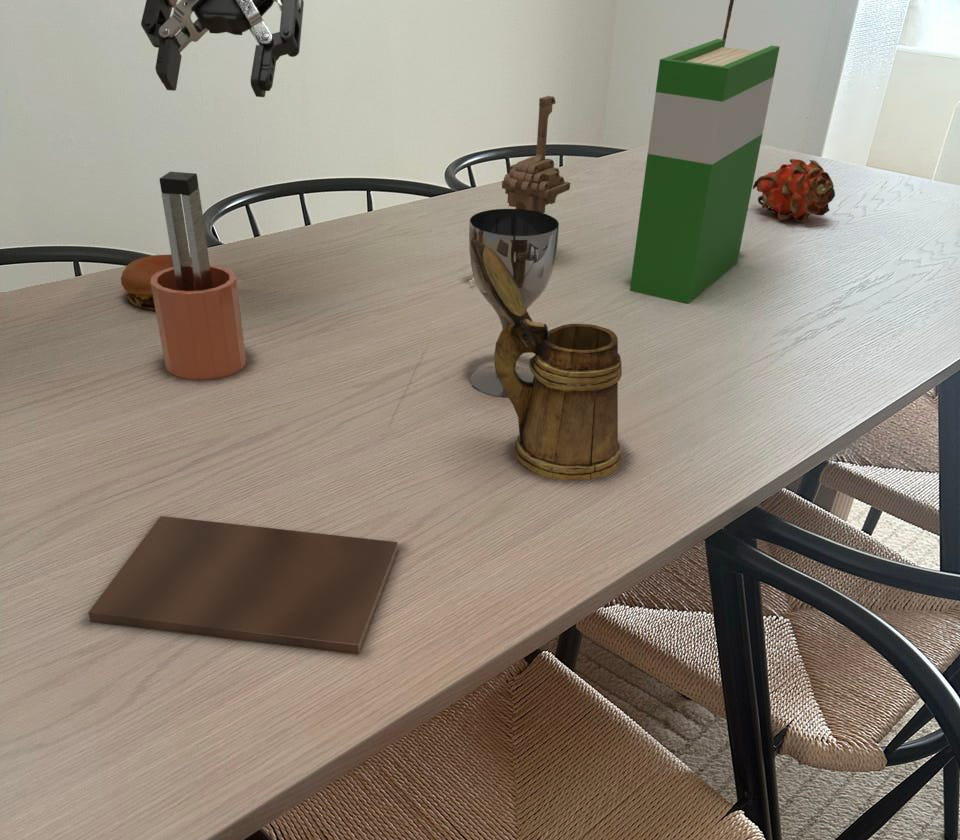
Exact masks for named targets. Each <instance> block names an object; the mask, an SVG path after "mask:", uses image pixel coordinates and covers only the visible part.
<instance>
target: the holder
mask: <svg viewBox="0 0 960 840" xmlns="http://www.w3.org/2000/svg"><path fill="white" fill-rule="evenodd" d="M191 267H192V265H191ZM210 271H211V278H212V285H213V288H212V289H207V290H201V291H196V288H195V291H179V290H177V286H176V280H175V273H174V267H170V268H167V269H165V270H162V271H160V272H157V273H156V274H155V275H154V276H152V277H151V288H152V293H153V299H154V305H155V310H154V311H155V315H156V321H157V325H158V326H157V327H158V331H159V332H158V333H159V337H160V343H161V349H162V355H163V360H164V366H165V369H166V370H167V371H168V372H169V373H170V374H171V375H173V376H175V377H178V378H181V379H185V380H191V381H209V380H217V379H222V378H227V377H229V376H232V375H235V374H237V373H239V372H240V371H241V370H243V369H244V368H245V366H246V364H247V355H246V348H245V340H244V339H245V338H244V331H243V323H242V316H241V308H240V307H241V306H240V299H239V292H238V282H237V276H236V272H233V270H231V269H229V268H227V267H223V266H219V265H216V264H215V265H214V264H210ZM192 274H193V268H192ZM193 281H194V275H193ZM194 287H195V281H194Z"/></svg>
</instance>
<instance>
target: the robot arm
mask: <svg viewBox="0 0 960 840" xmlns="http://www.w3.org/2000/svg"><path fill="white" fill-rule="evenodd" d="M178 1H179V0H145V5H144V8H143V12H142V17H141V21H140V26H141V28H142V30H143V31H144V33H145V36H147V39H148V41H150V43H151V45H152V46H153V47H154V48H158V50H157V56H156V62H155V67H154V69H155V72H156V75H157V77H158V78H159V79H160V82H161V83H162V85H163V87H165V89H166V90H167V91H172V92H173V91H177V88H178V87H177V86H178V82H179V81H178V80H179V74H180V68H181V63H182V54H181V52H182V51H184V49H186V48H187V47H188V46H189V44H191V43H192V42H194V43H196V42H198V41H199V40H201V38H202V37H204V35H205V34H206V33H208V32H209V34H216V35H217V34H225V33H227V34H231V35H234V36H243V34H244V33H245V32H247V31H249V32H250V33H251V35H252V37H253V38H254V40H255V42H256V44H255V49H254V56H253V62H252V67H251V74H250V86H251V89H252V91H253V93H254V95H255V97H257V98H265V97H266V93H267V92H270V91H271V89H272V87H273V85H274V84H273V83H274V77H275V72H276V64H277V61H278V60H279V59H280V57H283V56H286V55H287V56H288V57H290V58H294V57H295V58H296V57H297V56H299V54H300V49H301V39H302V37H301V36H302V27H303V16H304V4H305V2H304V0H180V1H179V2H178ZM274 3H276V4H277V5H278V8H279V11H280V12H281V13H280V24H279V31H277V32H274V33H272V32H271V31H270V29H269V27H268V26H267V24H266V23H265V21H264V19H263V16H264V15H265V14H266V13H267V12H268V11H269V10H270V9H271V8H272V7H273V5H274ZM172 9H173V13H172ZM193 13H194V14H195V17H196V20H195V21H194V22H193V20H192V19H191V18H192V14H193ZM171 14H172V15H171Z"/></svg>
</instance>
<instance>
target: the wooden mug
mask: <svg viewBox="0 0 960 840" xmlns="http://www.w3.org/2000/svg"><path fill="white" fill-rule="evenodd" d="M469 246H470V250H471V254H472V257H473V261H474V264H475V267H476V271H477V274H478V276H479V278H480V281H481V283H482V285H483V286H484V288H485V290H486V291H487V293H488V295H489V296H490V298H491V300H492V301H493V303H494V304H495V306H496V307H497V309H498V310H499V312H500V313H501V315H502V316H503V317H504V318H505V319H506V320H507V321H508V323H507V325H506V326H505V328H504V329H503V330H502V329H501V331H500V334H499V335H498V337H497V340H496V341H495V348H494V354H493V361H494V366H495V369H496V374H497V376H498V378H499V381H500V383H501V385H502V387H503V389H504V391H505V393H506V394H507V396H508V397H507V398H508V399H509V401H510V402H511V404H512V406H513V408H514V411H515V413H516V415H517V423H518V436H517V438H516V441H515V444H514V448H513V455H514V457H515V459H516V460H517V462H518V463H519V464H520V465H521V466H522V467H523V468H524V469H526V470H527V471H529V472H530V473H532V474H534V475H537V476H540V477H543V478H546V479H551V480H561V481H586V480H591V479H601V478H603V477H605V476H608V475H611V474H612V473H613V472H615V471H616V470H617V469H618V467H619V465H620V464H621V460H622V459H621V457H622V456H621V444H620V442H619V399H618V398H619V394H618V393H619V382H620V380H621V377H622V375H623V374H622V373H623V372H622V369H623V367H622V358H621V355H620V353H619V341H618V336H617V334H616V332H614V331H613V330H612V329H609V328H607V327H603V326H599V325H596V324H591V323H568V324H562V325H560V326H557V327H554V328H552V329H550V330H549V328H548V325H547V324H546V323H543V322H537V321H533V320H532V318H531V315H530V314H529V312H528V311H527V310H528V309H527V310H526V306H525V303H524V300H523V297H522V295H521V292H520V290H519V287H518V285H517V284H516V282H515V280H514V278H513V277H512V275H511V273H510V271H509V270H508V268H507V267H506V265H505V264H504V263H503V261H502V260H501V258H500V257H499V256H498V255H497V254H496V253H495V252H494V251H493V250H492V249H490V248H489V247H488V246H486V245H485V244H483V243H481V242H480V241H478V240H475V239H472V241H471V243H470V245H469ZM470 250H469V251H470ZM528 353H529V354H530V353H531V354H534V355H533V356H532V357H531V358H529V362H528V363H529V370H531V372H532V373H533V375H534V378H533V382H526V381H523V380H522V379H520V378H519V377H518V375H517V373H516V371H515V367H516V366H517V361H518V360H519V359H520V357H521V356H522V355H523V354H528Z"/></svg>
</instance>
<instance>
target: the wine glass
mask: <svg viewBox="0 0 960 840" xmlns="http://www.w3.org/2000/svg"><path fill="white" fill-rule="evenodd" d="M559 225H560V222H559V221H558V220H557V218H555V217H553V216H552V215H549V214H547V213H541V212H536V211H531V210H523V209H516V208H495V209H487V210H483V211H480V212H477V213H474V215H472V216H471V217H470V219H469V227H468V228H469V229H468V230H469V231H468V244H469V245H470V243H471V241H472V239H475V240H478V241H480V242H481V243H483V244H485V245H486V246H488V247H489V248H490V249H492V250H493V251H494V252H495V253H496V254H497V255H498V256H499V257H500V258H501V260H502V261H503V263H504V264H505V265H506V267H507V268H508V270H509V271H510V273H511V275H512V277H513V278H514V280H515V282H516V284H517V285H518V287H519V290H520V292H521V295H522V297H523V300H524V303H525V306H526V310H528V309H529V308H530V307H531V306H532V305H533V304H534V303H535V302H536V301H537V300H538V299H539V298H540V297H541V296H542V294H543V293H544V292H545V290H546V289H547V287H548V284H549V282H550V281H551V276H552V274H553V270H554V265H555V262H556V257H557V252H558V251H557V250H558V243H559V229H560V228H559V227H560V226H559ZM468 251H469V258H470V266H471V271H472V277H474V280H475V285H476V287H477V289H478V291H479V292H480V294H481V295H482V297H483V298H484V299H485V300H486V301H487V302H488V304H489V305H490V306H491V308H492V309H493V310H494V311H495V313H496V315H497V317H498V319H499V321H500V324H501V331H502V330H503V329H504V328H505V326H506V325H507V323H508V321H507V320H506V319H505V318H504V317H503V316H502V315H501V313H500V312H499V310H498V309H497V307H496V306H495V304H494V303H493V301H492V300H491V298H490V296H489V295H488V293H487V291H486V290H485V288H484V286H483V285H482V283H481V281H480V278H479V276H478V274H477V271H476V267H475V264H474V261H473V257H472V254H471V250H470V246H469V250H468ZM515 371H516V373H517V375H518V377H519V378H520V379H522V380H523V381H526V382H533V378H534V375H533V373H532V372H531V369H530V368H525V367H521V366H517V365H516V367H515ZM469 382H470V384H471V386H472V387H473V388H474V389H475V390H477V391H479V392H481V393H484V394H487V395H490V396H494V397H502V398H508V396H507V394H506V393H505V391H504V389H503V387H502V385H501V383H500V381H499V378H498V376H497V374H496V369H495V365H489V366H485V367H482V368H480V369H477V370H476V371H474V372H473V373H472V374H471V376H470V377H469Z"/></svg>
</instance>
